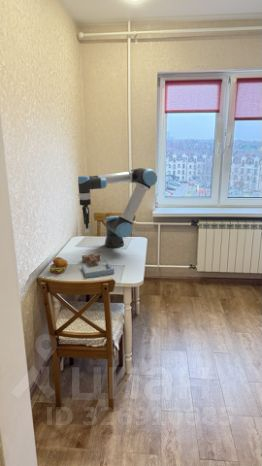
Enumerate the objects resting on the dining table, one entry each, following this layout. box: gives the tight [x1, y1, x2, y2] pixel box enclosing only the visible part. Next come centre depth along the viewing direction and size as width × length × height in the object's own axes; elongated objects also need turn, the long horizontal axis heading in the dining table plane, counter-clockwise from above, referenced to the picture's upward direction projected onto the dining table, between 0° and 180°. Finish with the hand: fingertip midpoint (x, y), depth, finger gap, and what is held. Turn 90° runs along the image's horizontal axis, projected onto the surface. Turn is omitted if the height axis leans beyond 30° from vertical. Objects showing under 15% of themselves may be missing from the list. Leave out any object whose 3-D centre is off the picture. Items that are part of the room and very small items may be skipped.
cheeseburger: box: [48, 256, 68, 274], centre depth 205 cm, size 10×11×10 cm
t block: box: [81, 252, 101, 267], centre depth 218 cm, size 12×12×4 cm
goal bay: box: [81, 261, 115, 278], centre depth 203 cm, size 17×15×3 cm
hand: (87, 232), depth 225 cm, fingers closed
